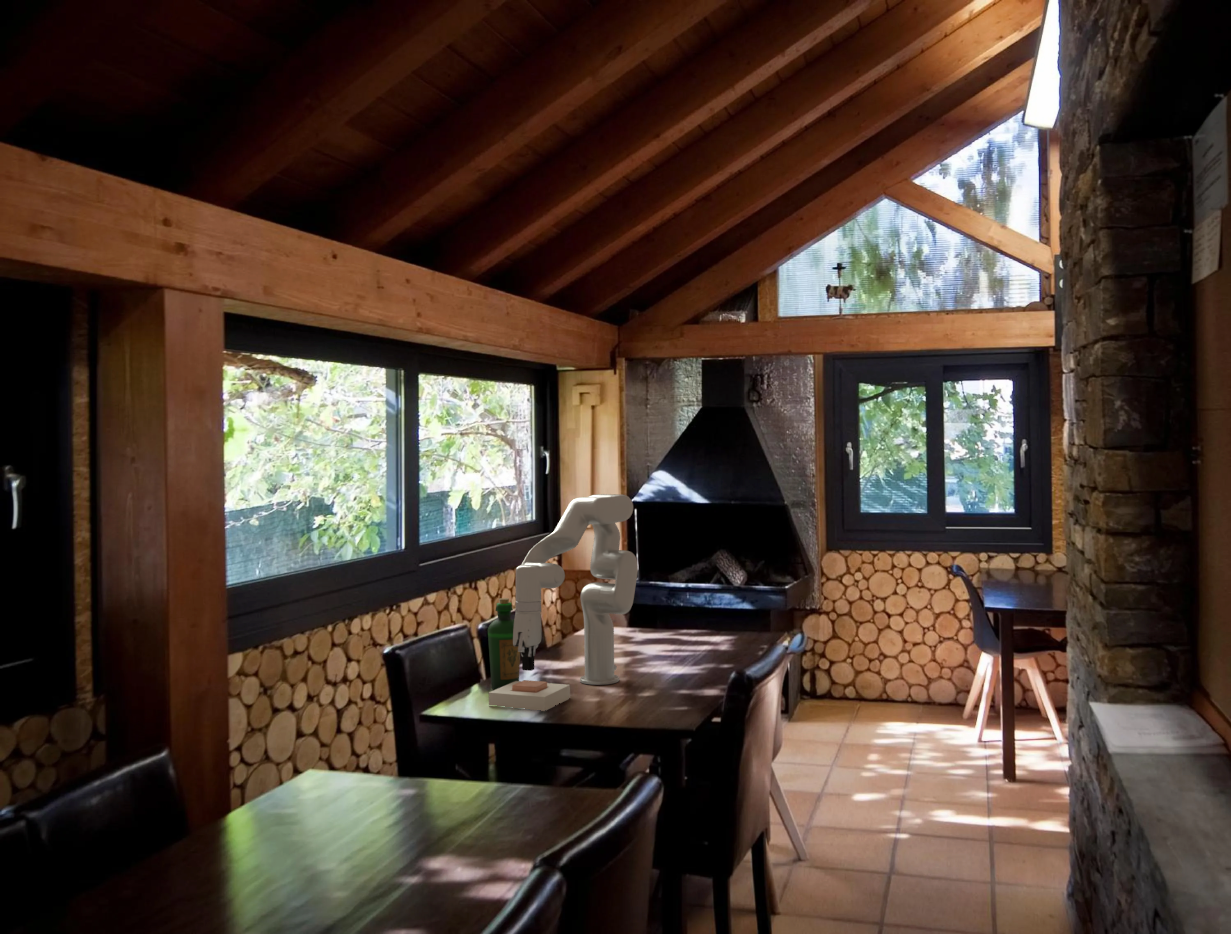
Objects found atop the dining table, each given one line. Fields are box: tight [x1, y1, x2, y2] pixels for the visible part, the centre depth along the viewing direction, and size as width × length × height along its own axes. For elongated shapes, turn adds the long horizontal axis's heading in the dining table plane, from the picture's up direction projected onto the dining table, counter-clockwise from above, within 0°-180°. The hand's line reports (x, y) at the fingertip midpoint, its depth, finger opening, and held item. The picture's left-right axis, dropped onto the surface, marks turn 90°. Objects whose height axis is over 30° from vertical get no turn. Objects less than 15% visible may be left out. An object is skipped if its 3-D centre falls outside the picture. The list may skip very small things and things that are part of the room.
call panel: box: [488, 680, 571, 712], centre depth 300 cm, size 17×18×4 cm
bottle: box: [487, 597, 521, 690], centre depth 319 cm, size 11×11×28 cm
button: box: [512, 679, 548, 693], centre depth 300 cm, size 8×8×4 cm
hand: (528, 669), depth 299 cm, fingers closed
